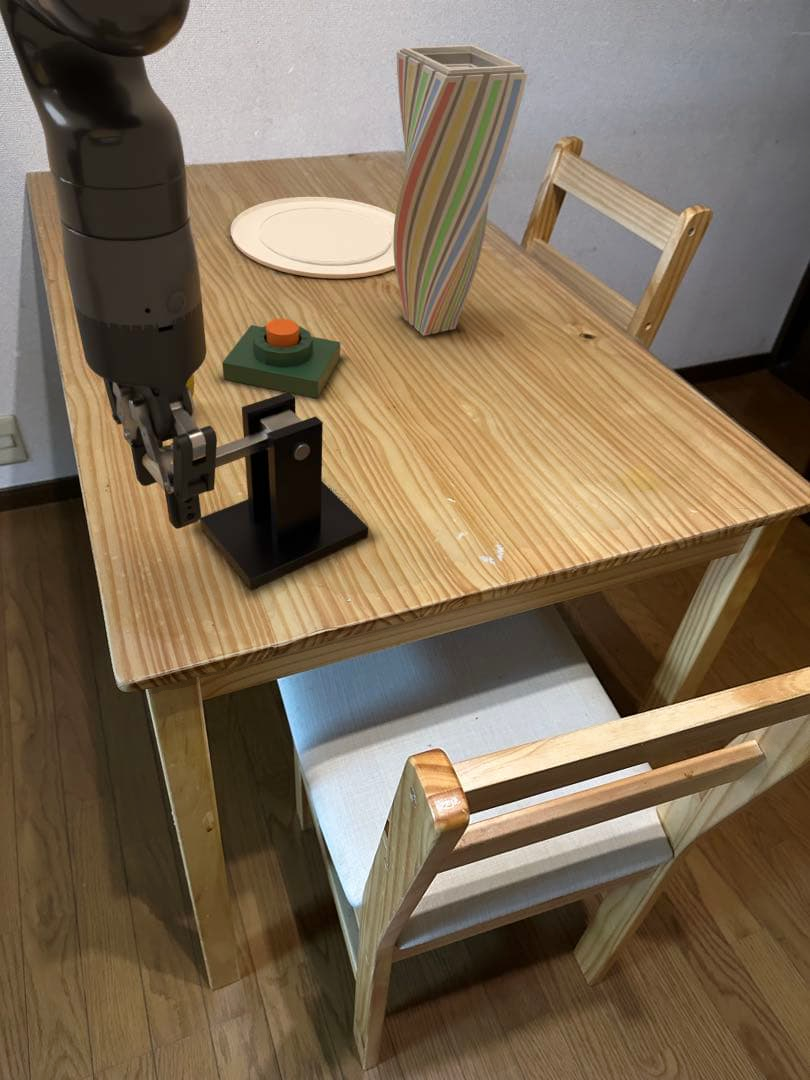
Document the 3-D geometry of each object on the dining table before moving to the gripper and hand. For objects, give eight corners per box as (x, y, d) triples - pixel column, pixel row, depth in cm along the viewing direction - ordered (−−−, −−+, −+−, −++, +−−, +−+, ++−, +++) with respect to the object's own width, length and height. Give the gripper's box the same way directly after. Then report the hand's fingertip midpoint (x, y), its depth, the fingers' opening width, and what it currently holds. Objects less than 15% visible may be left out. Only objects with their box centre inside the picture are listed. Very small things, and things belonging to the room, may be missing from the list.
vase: (444, 291, 106) (477, 39, 85) (501, 337, 98) (553, 71, 77) (358, 309, 100) (372, 42, 80) (412, 359, 92) (443, 78, 72)
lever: (173, 511, 56) (169, 486, 54) (144, 474, 58) (138, 449, 57) (314, 455, 62) (313, 431, 60) (281, 424, 64) (280, 400, 62)
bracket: (250, 590, 64) (242, 470, 55) (200, 527, 68) (184, 408, 60) (368, 537, 69) (377, 420, 61) (314, 482, 74) (315, 367, 65)
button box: (223, 379, 86) (220, 347, 83) (252, 341, 92) (250, 310, 89) (317, 398, 85) (318, 366, 82) (340, 358, 91) (341, 327, 88)
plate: (262, 288, 102) (262, 283, 101) (210, 207, 119) (209, 203, 119) (449, 267, 111) (449, 263, 111) (375, 196, 129) (375, 191, 129)
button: (262, 345, 85) (261, 331, 84) (273, 330, 87) (272, 316, 86) (293, 351, 84) (293, 337, 83) (303, 336, 87) (303, 322, 86)
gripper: (32, 255, 49) (83, 466, 60) (126, 360, 41) (164, 578, 53) (145, 235, 52) (173, 437, 64) (251, 328, 45) (260, 538, 56)
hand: (169, 500), depth 58 cm, fingers closed on lever, 5 cm apart
